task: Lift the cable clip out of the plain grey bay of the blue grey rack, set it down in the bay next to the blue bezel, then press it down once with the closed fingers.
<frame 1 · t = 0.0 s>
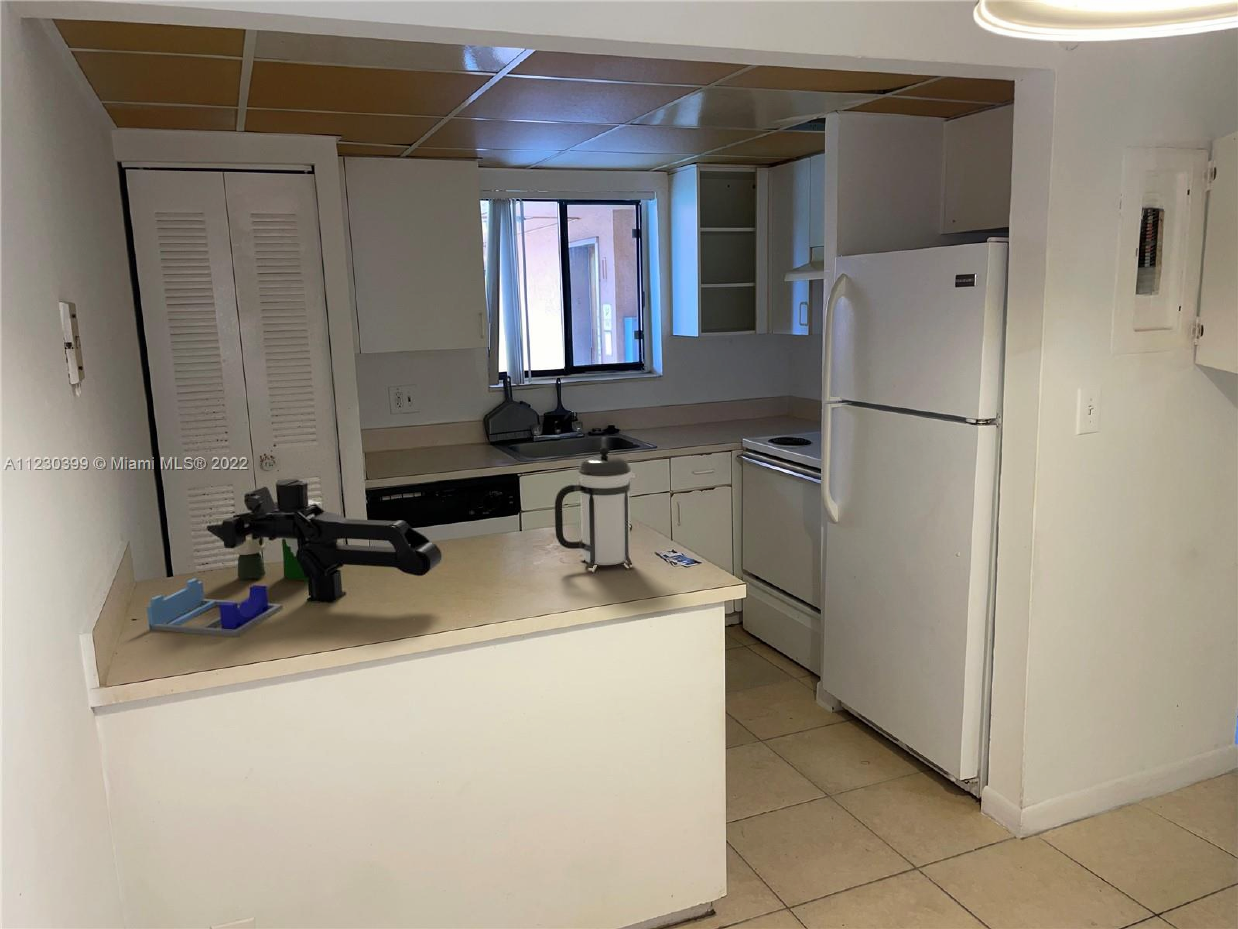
hand: (220, 522, 203), 17 cm above the table, tool horizontal, fingers open, 9 cm apart
blue grey rack: (225, 619, 189), on the table
milk carton: (305, 575, 217), on the table
character mug: (251, 578, 216), on the table
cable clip: (242, 622, 188), resting in blue grey rack
coffee press: (601, 566, 221), on the table
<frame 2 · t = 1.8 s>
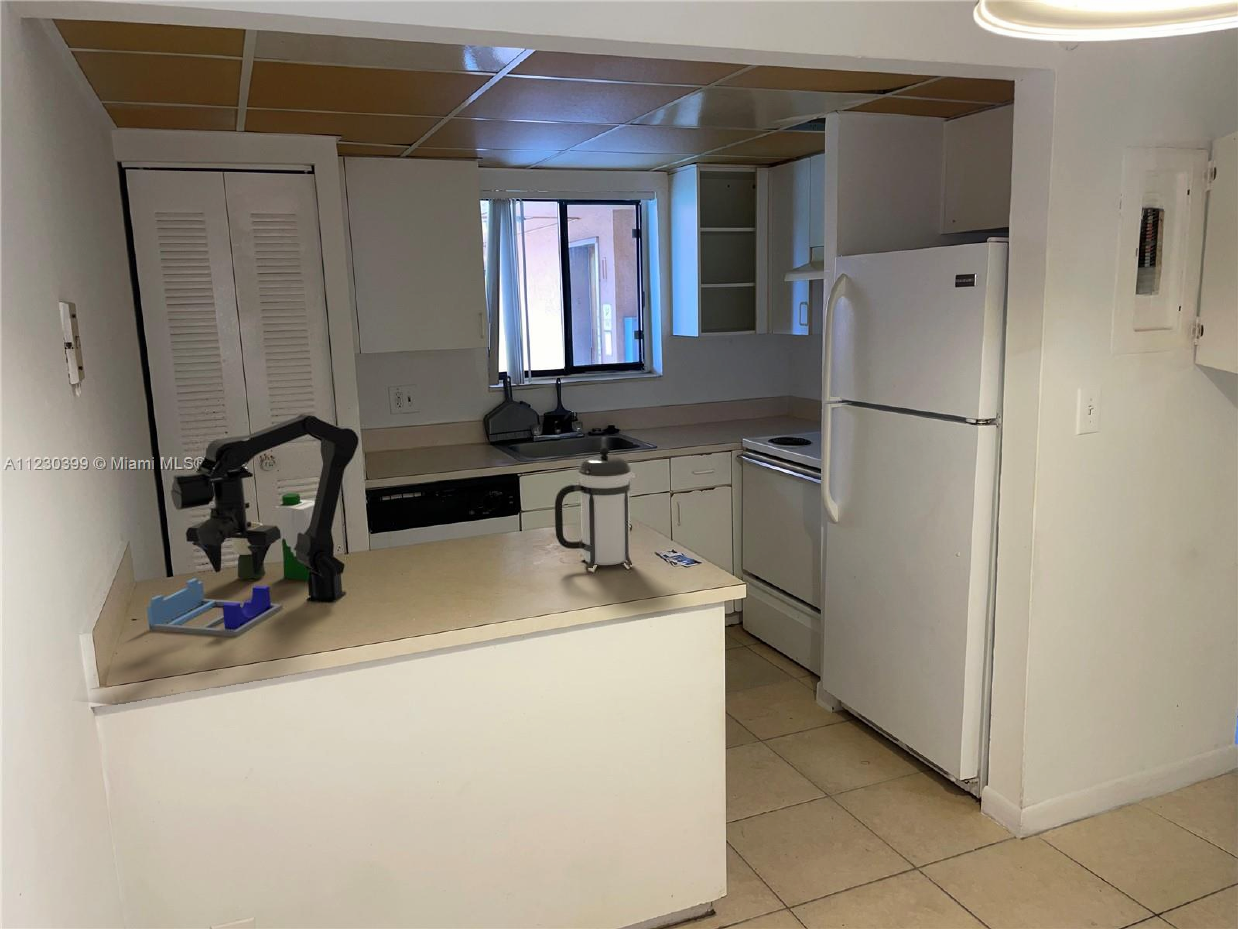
hand: (237, 573, 186), 11 cm above the table, tool pointing down, fingers open, 9 cm apart
nothing on the table moved.
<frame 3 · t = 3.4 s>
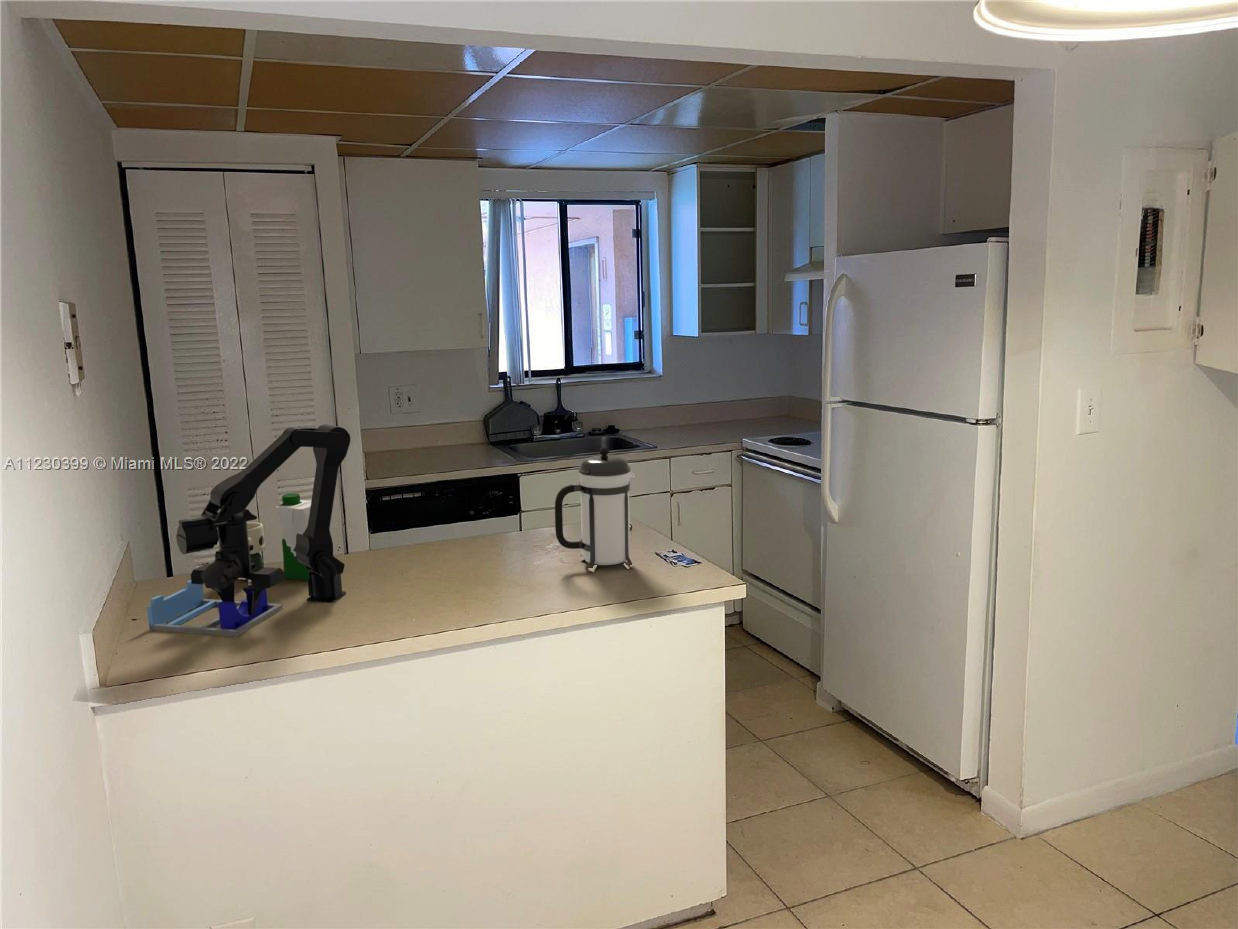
hand: (241, 614, 187), 1 cm above the table, tool pointing down, fingers closed on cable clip, 4 cm apart
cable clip: (242, 622, 188), resting in blue grey rack, touching gripper
everything else where it was.
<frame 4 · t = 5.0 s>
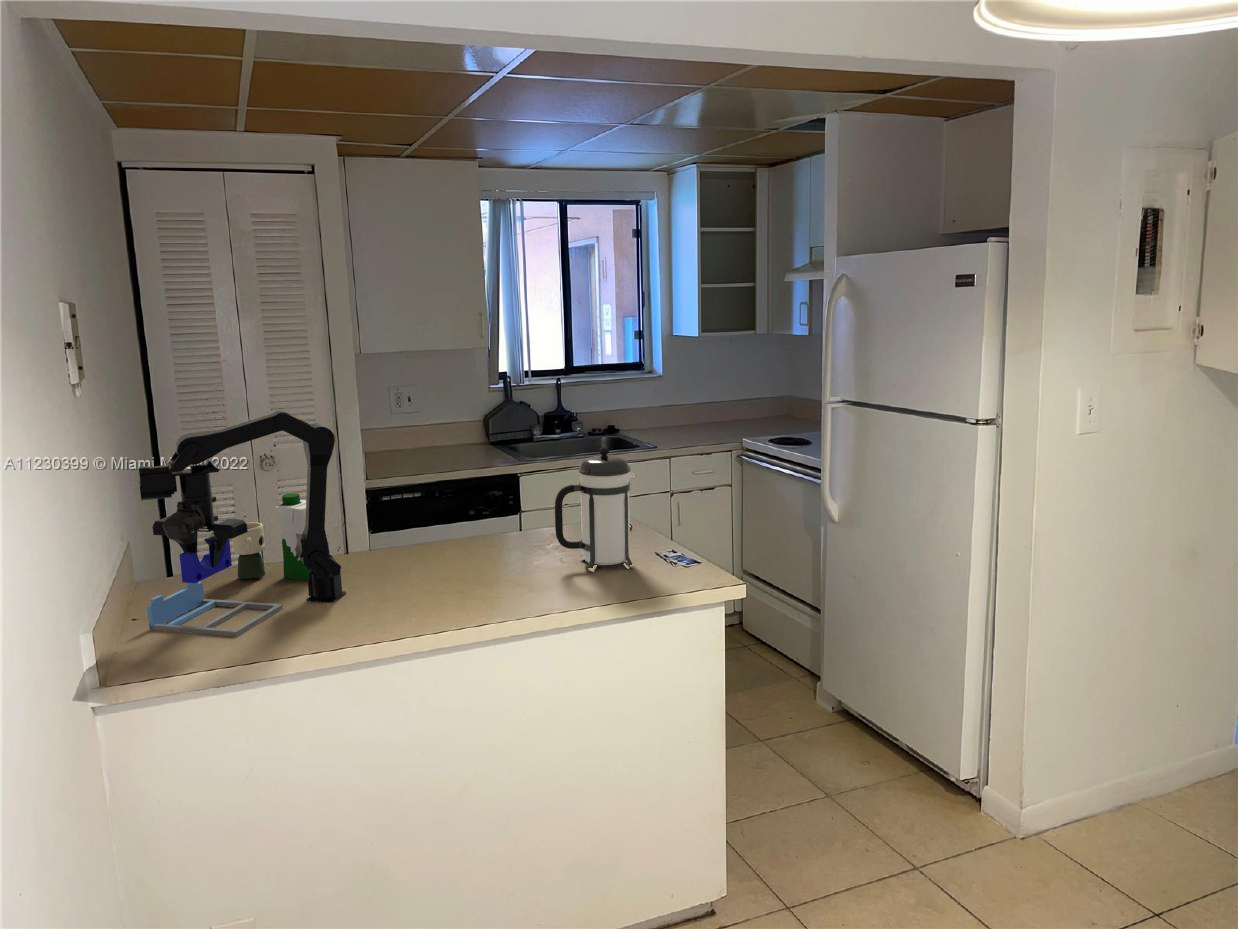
hand: (203, 566, 187), 12 cm above the table, tool pointing down, fingers closed on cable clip, 4 cm apart
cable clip: (204, 574, 187), point 10 cm above the table, touching gripper
everything else where it was.
when the fingers open (3 cm above the table, at t = 6.9 s): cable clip drops 2 cm, resting in blue grey rack.
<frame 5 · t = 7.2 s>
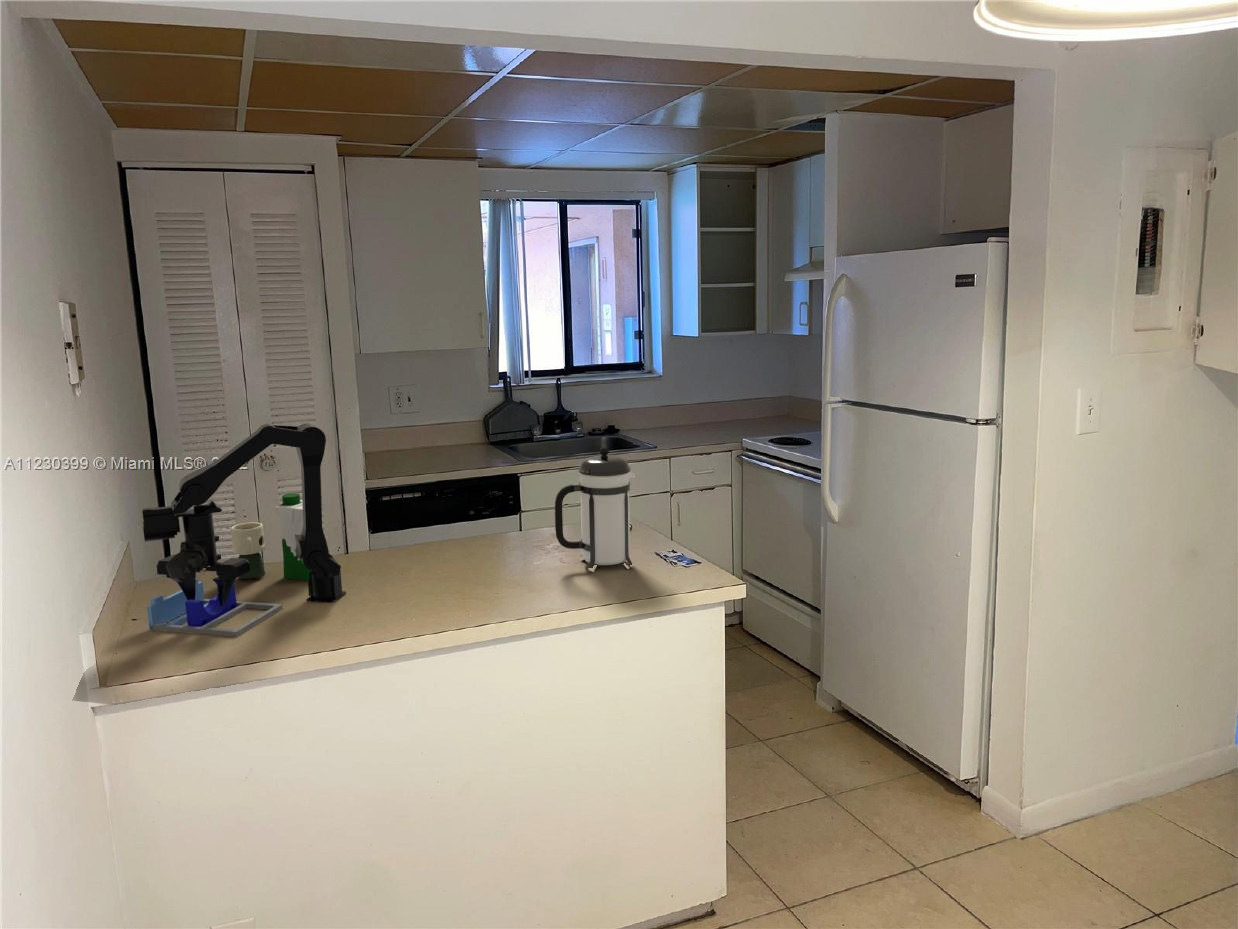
hand: (207, 605, 189), 3 cm above the table, tool pointing down, fingers open, 7 cm apart
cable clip: (210, 620, 189), resting in blue grey rack
everything else where it was.
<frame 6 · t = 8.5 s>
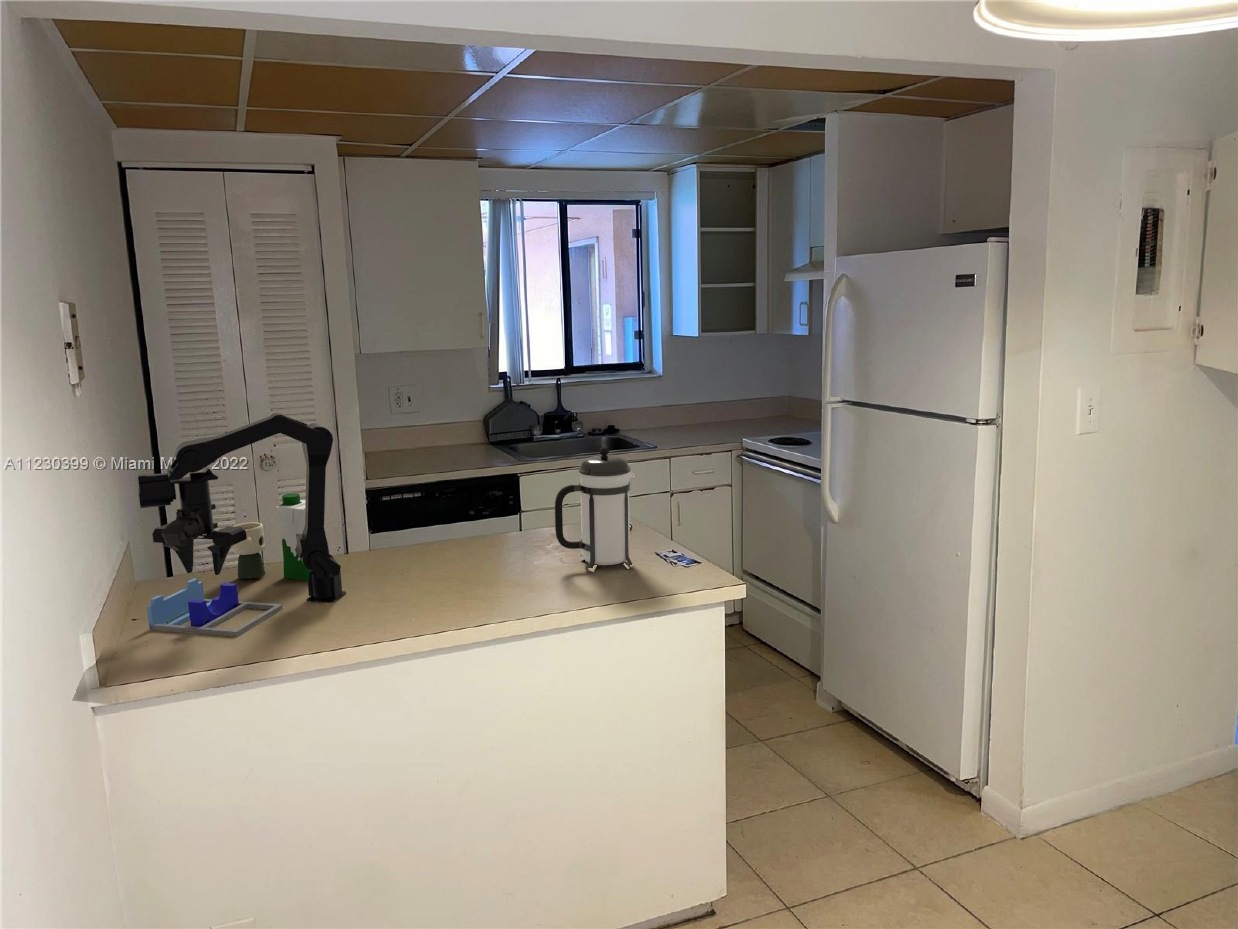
hand: (203, 573, 187), 10 cm above the table, tool pointing down, fingers open, 6 cm apart
nothing on the table moved.
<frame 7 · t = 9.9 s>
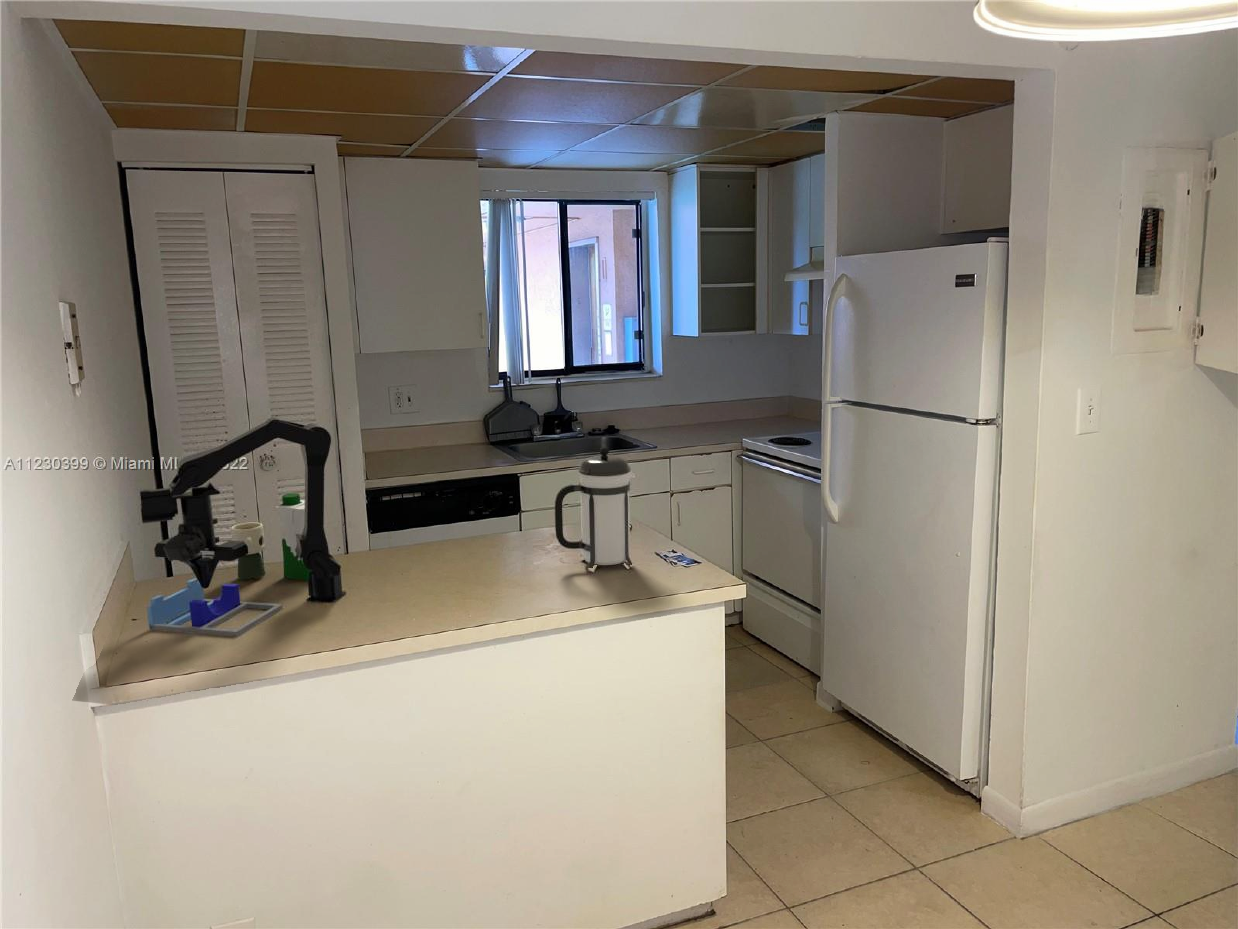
hand: (205, 587, 188), 7 cm above the table, tool pointing down, fingers closed
nothing on the table moved.
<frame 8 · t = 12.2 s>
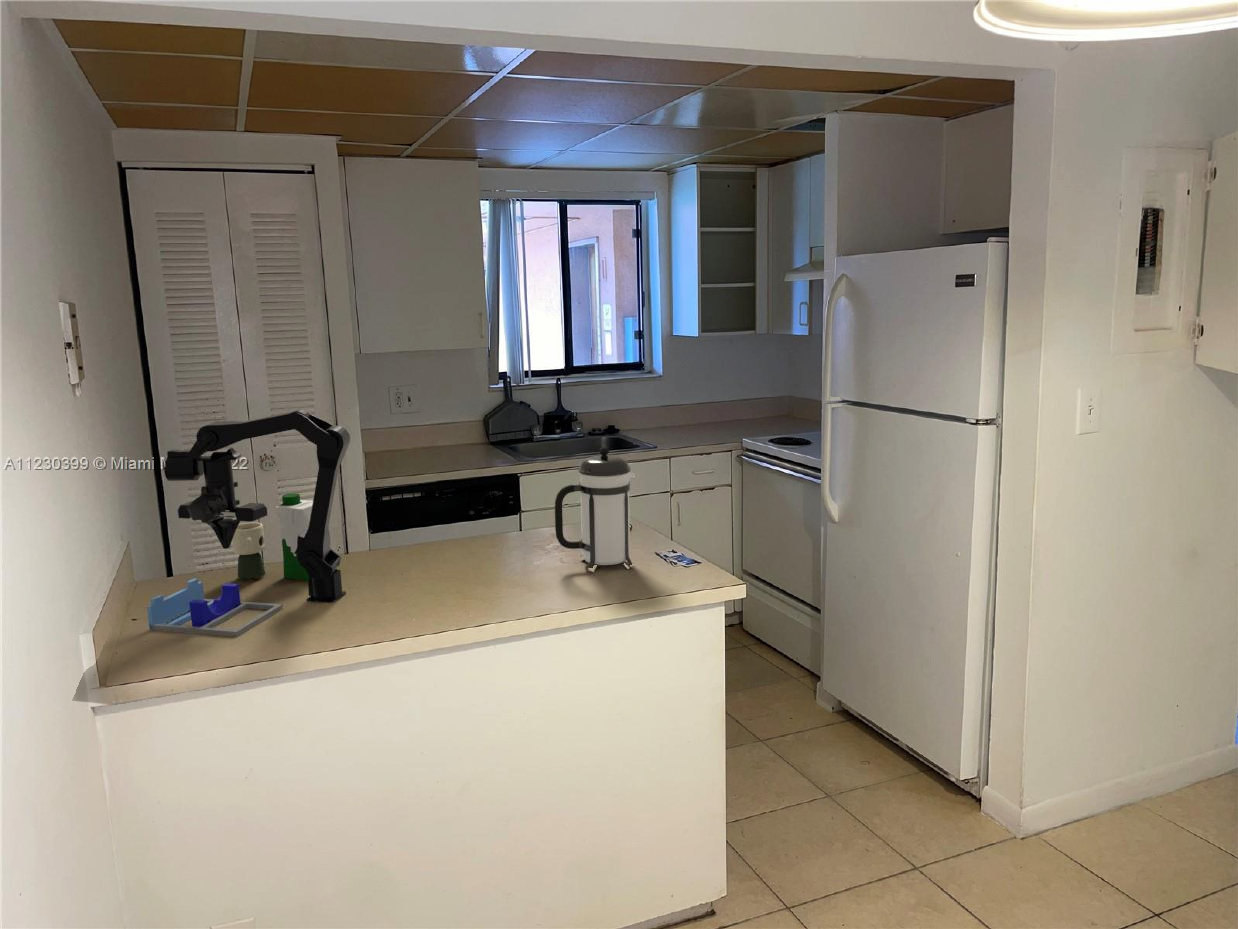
hand: (226, 548, 197), 13 cm above the table, tool pointing down, fingers closed
nothing on the table moved.
at the end: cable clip inside the target area on the blue grey rack (2.0 cm from its centre), point 0.0 cm above the blue grey rack's base; the gripper is holding nothing; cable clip moved 6.8 cm from its start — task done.
